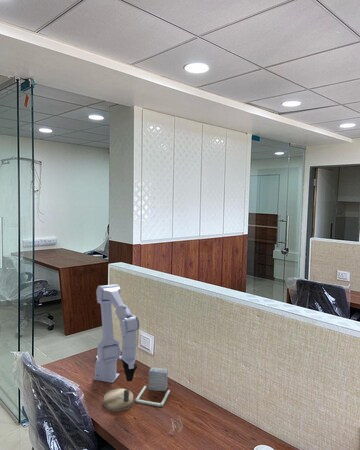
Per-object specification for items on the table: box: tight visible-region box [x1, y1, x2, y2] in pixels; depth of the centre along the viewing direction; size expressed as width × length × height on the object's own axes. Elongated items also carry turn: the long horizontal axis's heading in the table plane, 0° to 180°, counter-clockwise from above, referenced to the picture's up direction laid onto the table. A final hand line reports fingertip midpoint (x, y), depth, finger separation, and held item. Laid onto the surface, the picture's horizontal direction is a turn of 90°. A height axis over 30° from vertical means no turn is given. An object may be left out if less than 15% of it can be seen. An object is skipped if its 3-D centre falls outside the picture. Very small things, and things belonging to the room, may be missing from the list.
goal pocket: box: [134, 385, 171, 408], centre depth 154 cm, size 12×12×1 cm
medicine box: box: [148, 366, 169, 392], centre depth 160 cm, size 8×4×9 cm, turn 84°
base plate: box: [102, 400, 135, 412], centre depth 149 cm, size 12×12×1 cm
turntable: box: [103, 388, 134, 410], centre depth 149 cm, size 12×12×6 cm
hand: (128, 377), depth 149 cm, fingers open, 5 cm apart
